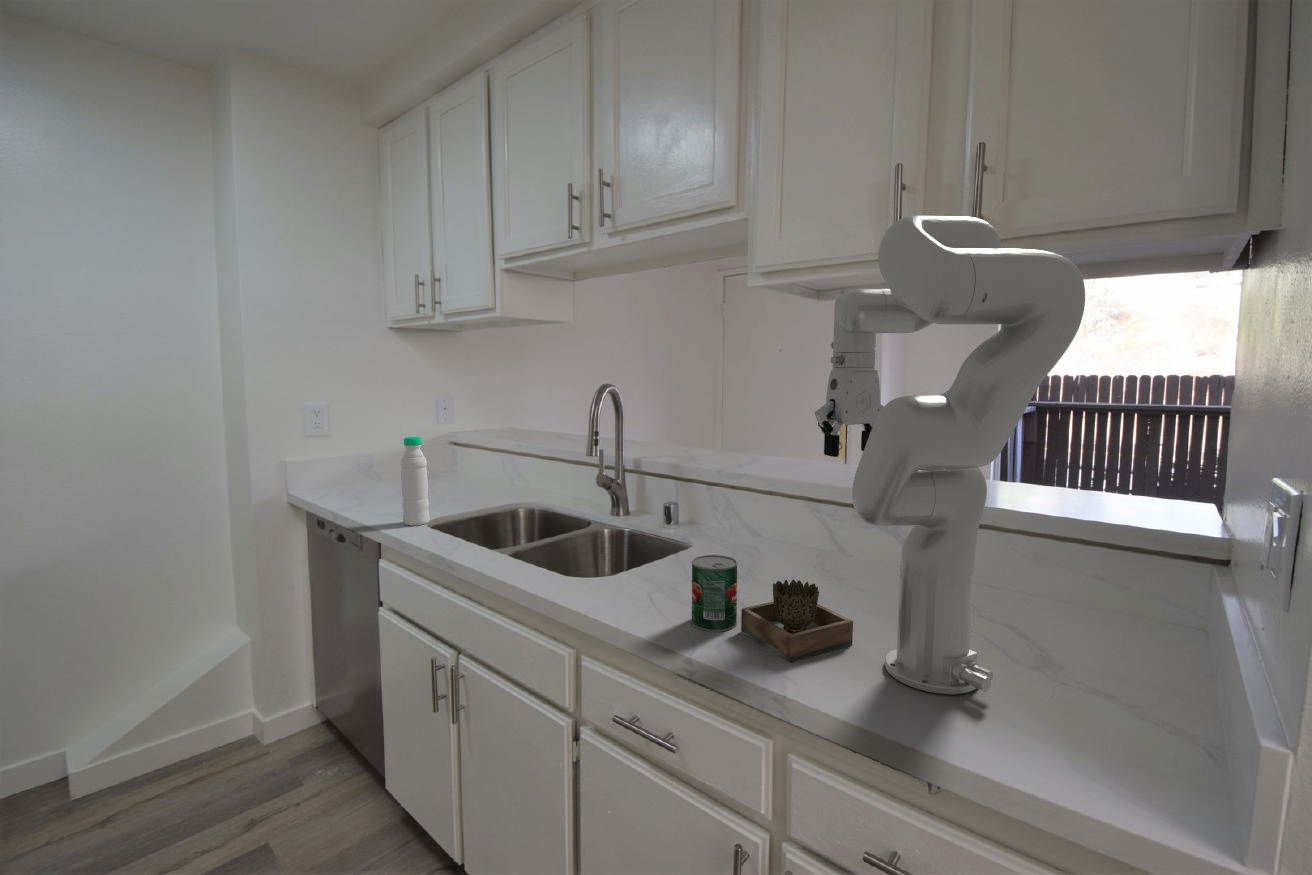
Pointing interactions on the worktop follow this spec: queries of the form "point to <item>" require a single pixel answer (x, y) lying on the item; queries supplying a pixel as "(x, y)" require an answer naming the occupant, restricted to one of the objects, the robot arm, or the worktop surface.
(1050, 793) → the worktop surface
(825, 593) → the worktop surface
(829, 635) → the walnut box
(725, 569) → the canned tomato
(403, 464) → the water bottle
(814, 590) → the olive textured bell shape
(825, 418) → the robot arm
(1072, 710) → the worktop surface
